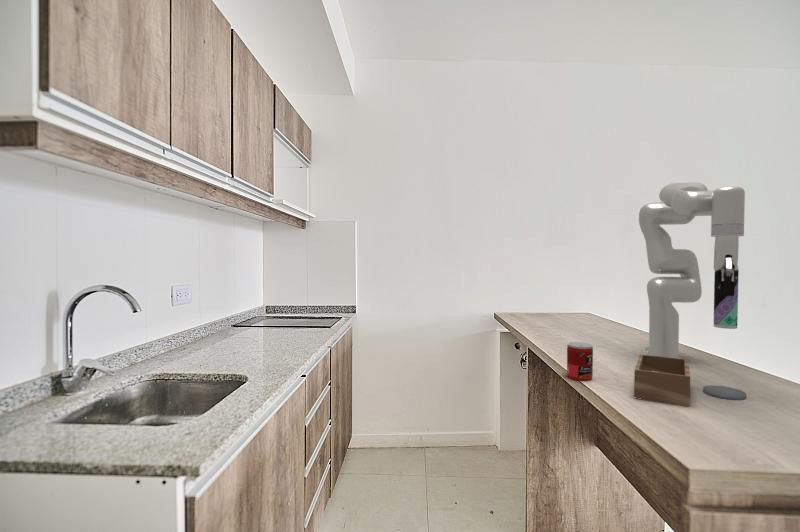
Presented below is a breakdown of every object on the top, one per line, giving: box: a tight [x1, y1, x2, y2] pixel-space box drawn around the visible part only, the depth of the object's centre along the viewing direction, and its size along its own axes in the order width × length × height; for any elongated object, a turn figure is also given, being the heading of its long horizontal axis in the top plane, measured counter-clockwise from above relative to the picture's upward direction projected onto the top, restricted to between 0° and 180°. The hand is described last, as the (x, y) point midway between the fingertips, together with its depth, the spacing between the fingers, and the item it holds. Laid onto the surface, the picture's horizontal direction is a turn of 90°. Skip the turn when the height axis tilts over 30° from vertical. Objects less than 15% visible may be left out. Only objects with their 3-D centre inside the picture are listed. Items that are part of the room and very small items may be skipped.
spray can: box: [713, 261, 740, 330], centre depth 125 cm, size 6×6×20 cm
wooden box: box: [633, 354, 691, 408], centre depth 128 cm, size 22×13×8 cm, turn 148°
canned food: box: [566, 341, 594, 382], centre depth 142 cm, size 8×8×11 cm
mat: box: [702, 385, 747, 401], centre depth 125 cm, size 10×10×1 cm
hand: (725, 294), depth 125 cm, fingers closed on spray can, 5 cm apart
